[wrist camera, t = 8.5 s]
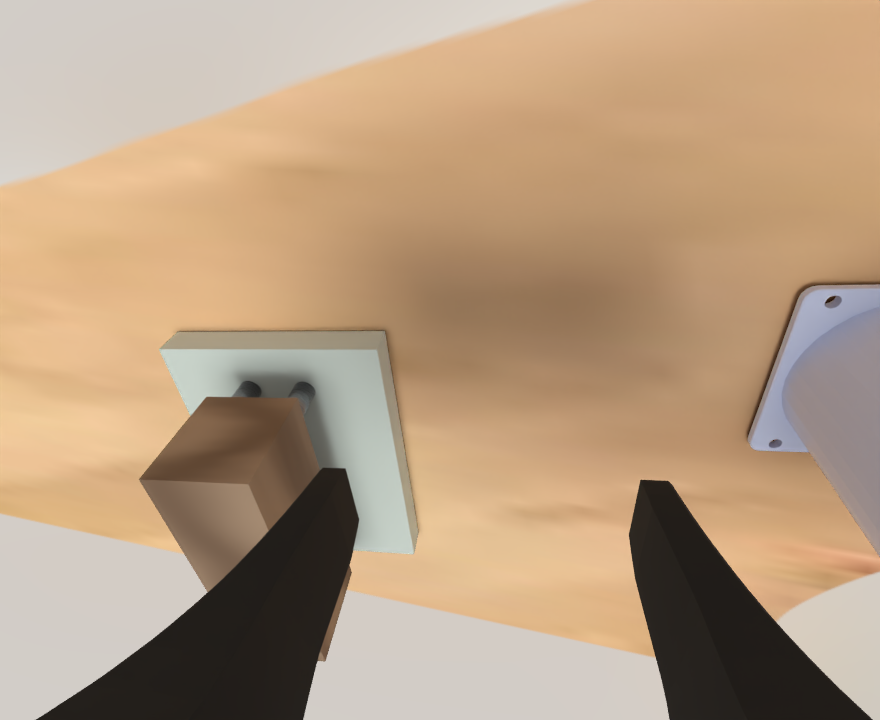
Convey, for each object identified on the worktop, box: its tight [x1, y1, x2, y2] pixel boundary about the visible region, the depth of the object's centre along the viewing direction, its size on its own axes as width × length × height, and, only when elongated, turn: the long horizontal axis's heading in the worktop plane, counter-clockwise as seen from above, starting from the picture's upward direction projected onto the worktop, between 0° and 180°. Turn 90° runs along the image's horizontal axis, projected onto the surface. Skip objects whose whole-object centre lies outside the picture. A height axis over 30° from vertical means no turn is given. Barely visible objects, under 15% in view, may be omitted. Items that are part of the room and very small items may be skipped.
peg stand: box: [159, 331, 418, 554], centre depth 25 cm, size 10×14×4 cm
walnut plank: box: [139, 397, 352, 661], centre depth 22 cm, size 4×12×4 cm, turn 5°
